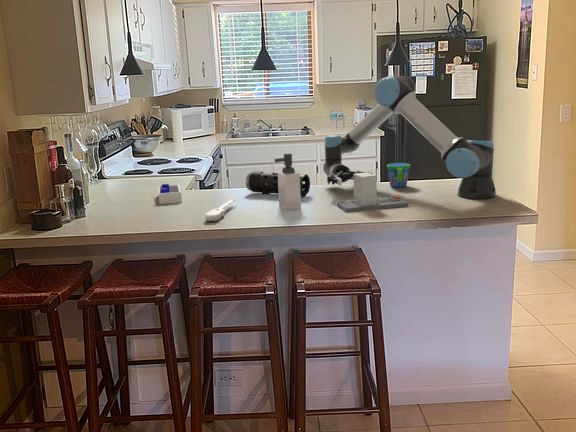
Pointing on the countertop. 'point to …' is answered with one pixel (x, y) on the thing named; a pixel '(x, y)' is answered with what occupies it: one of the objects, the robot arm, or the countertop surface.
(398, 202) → the socket strip
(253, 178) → the muzzle brake
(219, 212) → the white spoon
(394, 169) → the snack cup
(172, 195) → the box
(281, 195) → the soap dispenser
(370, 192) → the small box
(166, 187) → the cable clip
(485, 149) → the robot arm
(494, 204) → the countertop surface
